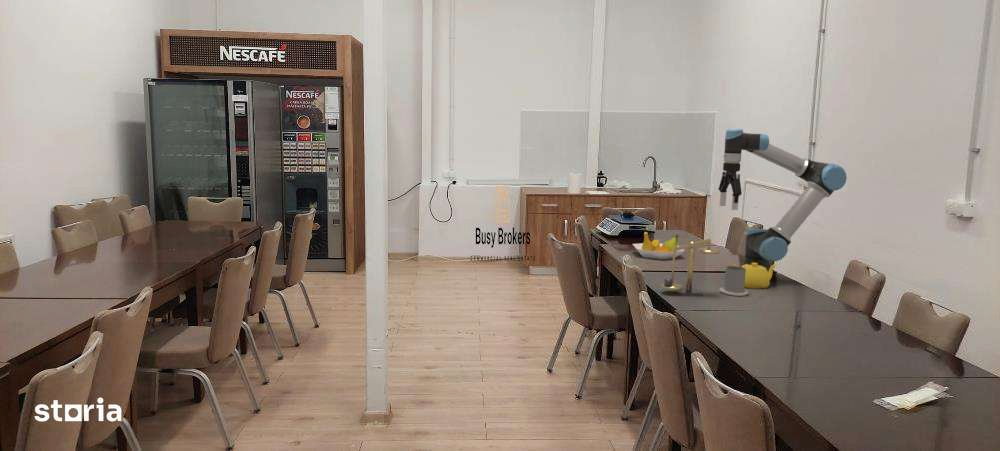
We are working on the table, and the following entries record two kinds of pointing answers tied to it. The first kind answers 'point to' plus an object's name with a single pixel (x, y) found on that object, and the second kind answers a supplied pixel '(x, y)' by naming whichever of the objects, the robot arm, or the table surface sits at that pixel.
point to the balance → (688, 269)
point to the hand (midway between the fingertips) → (728, 208)
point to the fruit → (658, 248)
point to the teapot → (757, 276)
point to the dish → (733, 292)
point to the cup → (734, 279)
